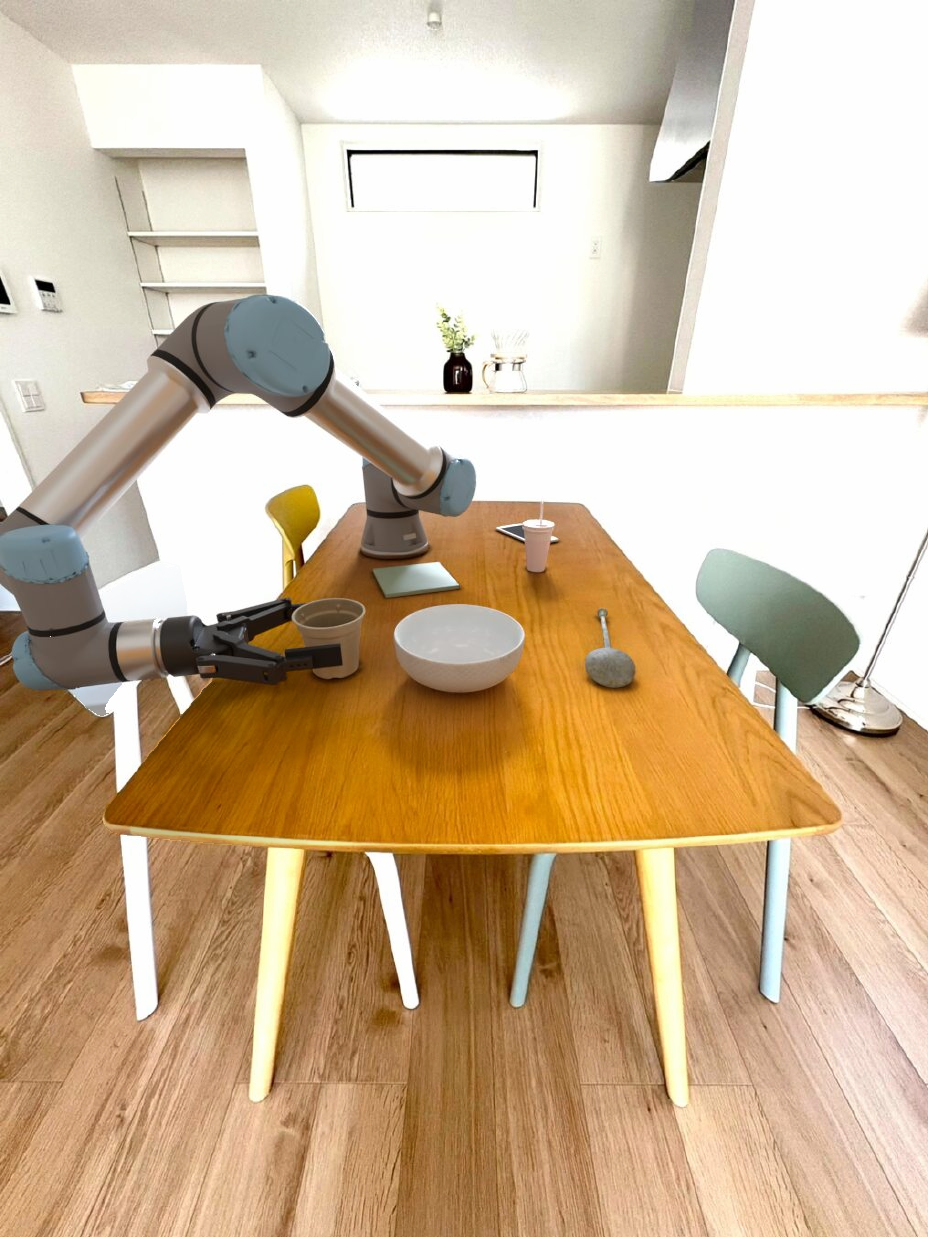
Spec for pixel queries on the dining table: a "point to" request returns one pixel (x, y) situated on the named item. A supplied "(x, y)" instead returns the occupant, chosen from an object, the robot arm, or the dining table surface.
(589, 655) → the soupspoon
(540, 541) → the smoothie
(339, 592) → the dining table surface
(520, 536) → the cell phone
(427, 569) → the pale green notebook
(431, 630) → the cereal bowl
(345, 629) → the flower pot
